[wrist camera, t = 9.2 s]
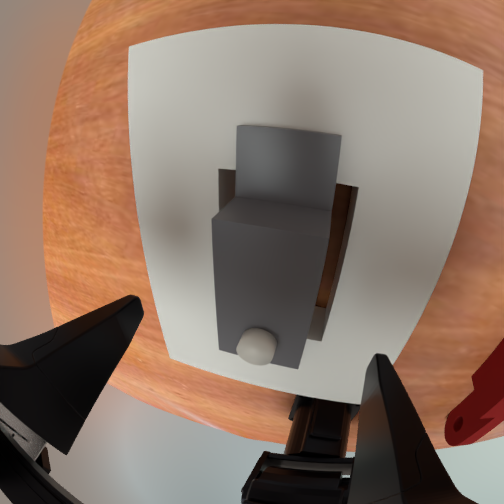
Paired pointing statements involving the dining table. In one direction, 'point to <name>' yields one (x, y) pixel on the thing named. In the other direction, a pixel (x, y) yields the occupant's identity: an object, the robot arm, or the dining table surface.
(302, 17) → the dining table surface
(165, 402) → the dining table surface
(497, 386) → the mechanical linkage
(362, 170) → the frame
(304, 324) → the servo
